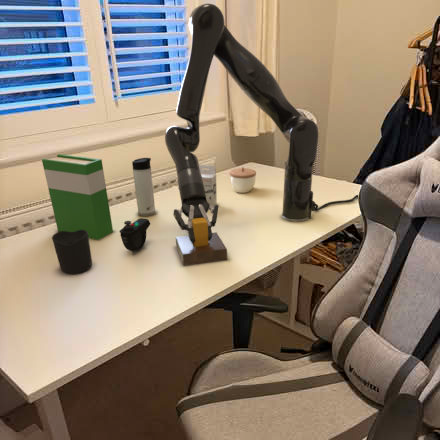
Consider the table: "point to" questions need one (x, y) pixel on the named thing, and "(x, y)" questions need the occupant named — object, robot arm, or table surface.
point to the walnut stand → (201, 250)
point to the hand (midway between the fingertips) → (201, 240)
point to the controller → (134, 234)
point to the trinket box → (242, 179)
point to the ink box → (209, 183)
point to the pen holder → (73, 251)
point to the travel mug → (143, 186)
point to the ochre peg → (200, 232)
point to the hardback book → (78, 195)
